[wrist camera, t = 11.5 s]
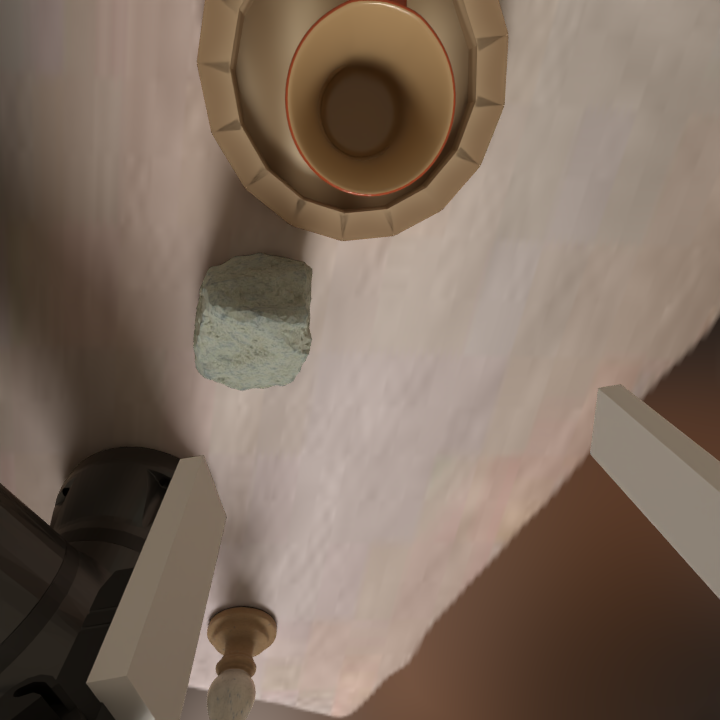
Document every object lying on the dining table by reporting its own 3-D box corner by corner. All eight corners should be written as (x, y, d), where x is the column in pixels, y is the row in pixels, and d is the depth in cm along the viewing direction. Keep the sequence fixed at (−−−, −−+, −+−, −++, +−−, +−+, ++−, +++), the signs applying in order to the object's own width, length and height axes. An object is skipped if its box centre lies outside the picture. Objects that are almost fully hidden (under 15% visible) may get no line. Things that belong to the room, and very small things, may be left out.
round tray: (242, 243, 36) (236, 251, 34) (175, -88, 27) (160, -111, 24) (485, 219, 36) (497, 225, 34) (500, -115, 27) (517, -140, 25)
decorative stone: (249, 197, 34) (151, 262, 28) (365, 274, 34) (290, 357, 28) (235, 303, 45) (162, 367, 39) (324, 363, 44) (263, 438, 38)
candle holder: (278, 606, 57) (256, 826, 39) (275, 647, 61) (253, 865, 42) (208, 604, 56) (151, 830, 38) (209, 646, 59) (158, 869, 41)
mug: (404, 189, 34) (433, 208, 25) (291, 169, 33) (277, 181, 24) (443, -4, 29) (497, -69, 20) (309, -36, 28) (301, -121, 19)
